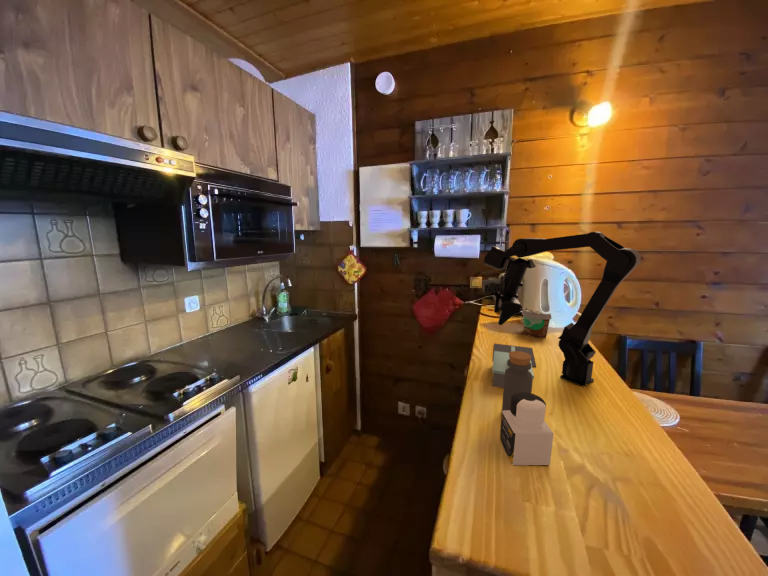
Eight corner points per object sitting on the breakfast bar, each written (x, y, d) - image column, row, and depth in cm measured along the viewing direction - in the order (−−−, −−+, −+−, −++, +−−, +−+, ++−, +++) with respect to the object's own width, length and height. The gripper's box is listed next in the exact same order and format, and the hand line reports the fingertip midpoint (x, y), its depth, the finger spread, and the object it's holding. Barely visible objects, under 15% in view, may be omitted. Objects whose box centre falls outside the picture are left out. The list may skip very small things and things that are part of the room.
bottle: (501, 418, 73) (506, 358, 70) (501, 405, 78) (506, 348, 75) (529, 423, 71) (535, 361, 68) (527, 409, 76) (532, 351, 73)
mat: (494, 344, 118) (494, 343, 118) (532, 349, 113) (532, 347, 113) (492, 361, 103) (492, 360, 103) (536, 367, 99) (536, 366, 99)
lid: (493, 355, 100) (495, 338, 99) (529, 360, 96) (531, 343, 95) (492, 375, 87) (493, 356, 86) (533, 381, 83) (535, 362, 82)
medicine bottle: (499, 440, 65) (503, 387, 63) (533, 441, 65) (539, 388, 63) (511, 466, 58) (516, 407, 56) (550, 466, 58) (557, 408, 56)
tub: (493, 365, 100) (494, 353, 100) (528, 370, 97) (529, 358, 96) (492, 385, 88) (493, 372, 87) (531, 392, 84) (532, 378, 83)
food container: (513, 331, 133) (515, 308, 131) (524, 329, 135) (526, 306, 133) (538, 340, 122) (541, 315, 120) (549, 338, 124) (552, 314, 122)
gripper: (485, 262, 110) (471, 301, 116) (492, 280, 92) (476, 325, 99) (517, 269, 109) (501, 309, 115) (530, 289, 91) (512, 334, 98)
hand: (497, 318), depth 106 cm, fingers open, 9 cm apart
